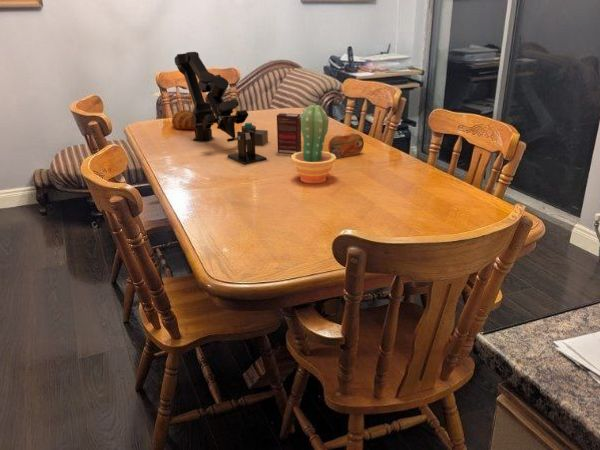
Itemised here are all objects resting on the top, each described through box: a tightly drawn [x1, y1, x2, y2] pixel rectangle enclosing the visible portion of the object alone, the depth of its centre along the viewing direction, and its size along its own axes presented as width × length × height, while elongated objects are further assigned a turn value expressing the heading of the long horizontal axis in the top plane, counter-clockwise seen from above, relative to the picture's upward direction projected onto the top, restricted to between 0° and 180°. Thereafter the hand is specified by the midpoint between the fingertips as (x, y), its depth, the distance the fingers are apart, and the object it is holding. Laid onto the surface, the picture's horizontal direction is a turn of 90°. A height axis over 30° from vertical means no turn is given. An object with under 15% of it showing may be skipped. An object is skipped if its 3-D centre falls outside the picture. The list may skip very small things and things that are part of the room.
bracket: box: [227, 130, 268, 166], centre depth 200 cm, size 12×10×11 cm
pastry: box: [171, 109, 195, 130], centre depth 249 cm, size 21×13×8 cm, turn 33°
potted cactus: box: [290, 104, 337, 184], centre depth 176 cm, size 15×15×25 cm
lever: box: [226, 133, 251, 143], centre depth 202 cm, size 11×6×2 cm, turn 39°
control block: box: [240, 124, 269, 147], centre depth 222 cm, size 10×7×7 cm
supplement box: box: [276, 112, 302, 157], centre depth 205 cm, size 9×5×16 cm, turn 71°
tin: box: [327, 133, 365, 159], centre depth 205 cm, size 15×3×8 cm, turn 117°
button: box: [244, 122, 253, 128], centre depth 221 cm, size 3×3×2 cm
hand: (234, 137), depth 206 cm, fingers closed, pressing on lever
